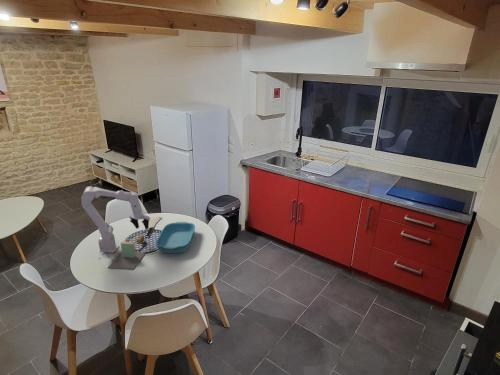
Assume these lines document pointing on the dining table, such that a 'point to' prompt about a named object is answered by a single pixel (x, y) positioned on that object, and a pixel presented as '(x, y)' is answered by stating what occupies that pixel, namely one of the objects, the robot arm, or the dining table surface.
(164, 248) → the casserole dish
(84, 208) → the robot arm
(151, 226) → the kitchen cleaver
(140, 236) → the tall cardboard box
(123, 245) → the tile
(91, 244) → the dining table surface
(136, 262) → the mat
